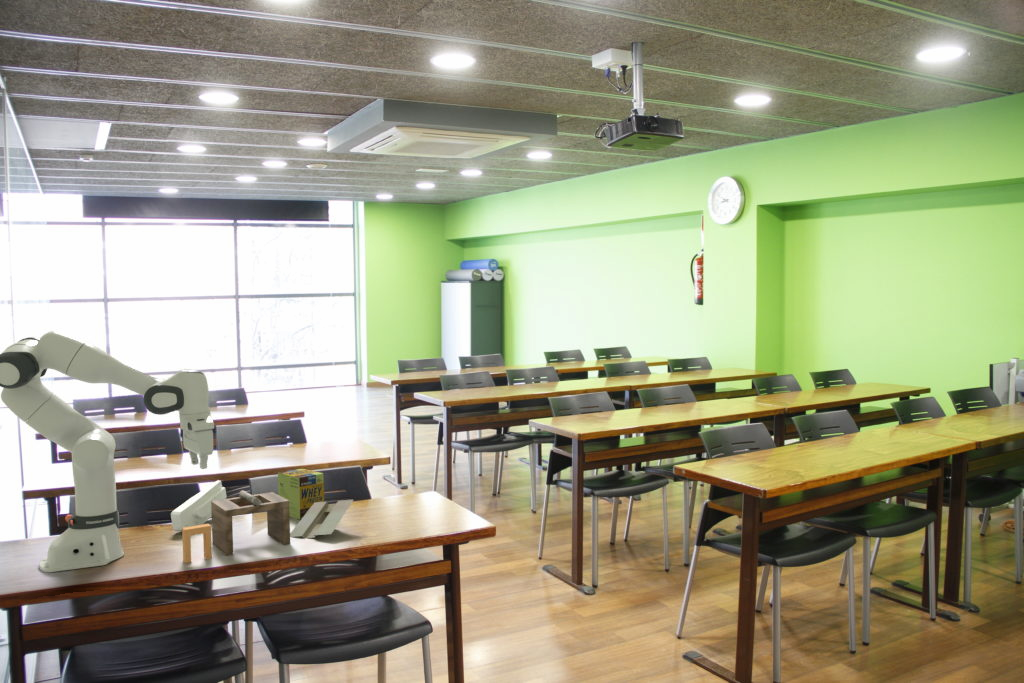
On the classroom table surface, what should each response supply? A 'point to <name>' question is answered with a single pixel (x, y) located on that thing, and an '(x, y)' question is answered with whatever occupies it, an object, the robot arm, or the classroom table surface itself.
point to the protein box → (301, 490)
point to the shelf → (229, 507)
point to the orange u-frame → (195, 530)
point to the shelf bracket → (197, 507)
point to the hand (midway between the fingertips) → (199, 466)
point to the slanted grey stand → (321, 519)
